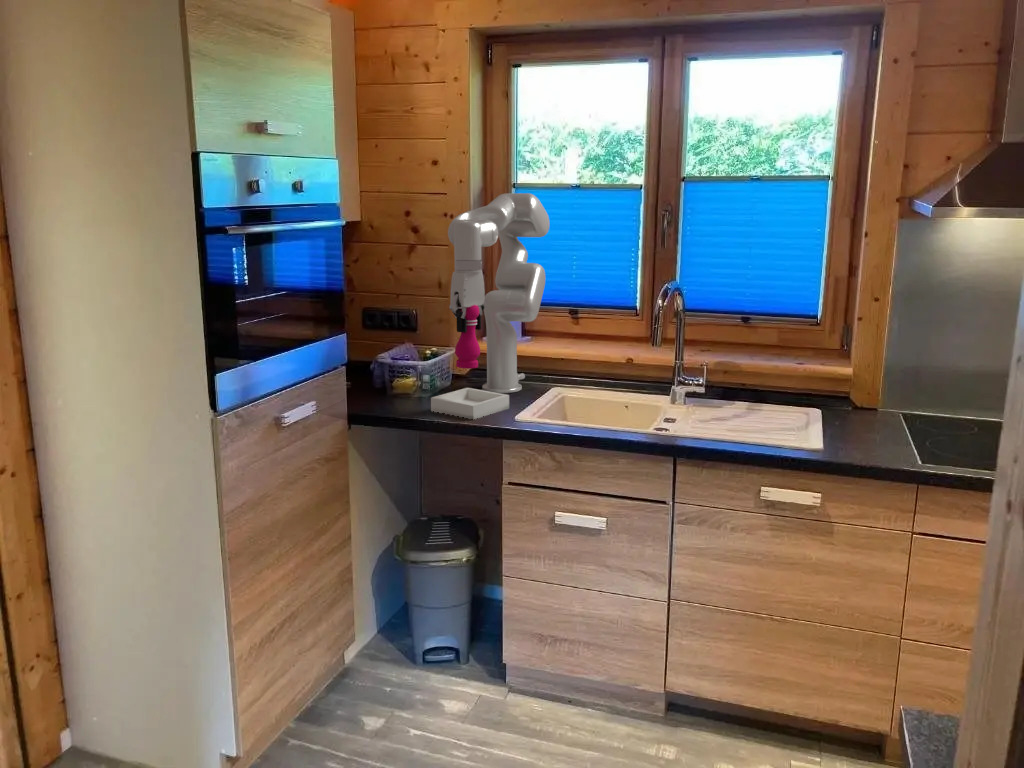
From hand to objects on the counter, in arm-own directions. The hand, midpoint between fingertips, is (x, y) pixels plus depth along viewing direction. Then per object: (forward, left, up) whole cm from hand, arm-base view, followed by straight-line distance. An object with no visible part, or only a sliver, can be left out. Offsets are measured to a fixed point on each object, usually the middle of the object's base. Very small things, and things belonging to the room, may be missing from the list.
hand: (469, 330), depth 236 cm
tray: (0, 0, -23) cm, 23 cm away
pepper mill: (+1, 0, -11) cm, 11 cm away
